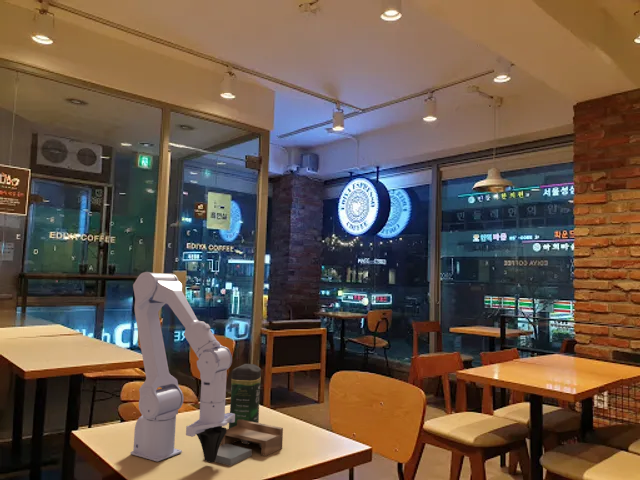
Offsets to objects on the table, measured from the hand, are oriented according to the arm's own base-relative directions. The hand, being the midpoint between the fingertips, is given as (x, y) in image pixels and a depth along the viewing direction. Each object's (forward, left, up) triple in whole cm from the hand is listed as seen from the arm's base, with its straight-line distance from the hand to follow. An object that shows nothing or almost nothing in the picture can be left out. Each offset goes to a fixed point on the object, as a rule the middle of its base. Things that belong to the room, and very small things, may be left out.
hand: (209, 460), depth 114 cm
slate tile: (0, +7, -2) cm, 7 cm away
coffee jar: (-10, +26, -1) cm, 28 cm away
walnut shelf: (0, +16, -1) cm, 16 cm away
